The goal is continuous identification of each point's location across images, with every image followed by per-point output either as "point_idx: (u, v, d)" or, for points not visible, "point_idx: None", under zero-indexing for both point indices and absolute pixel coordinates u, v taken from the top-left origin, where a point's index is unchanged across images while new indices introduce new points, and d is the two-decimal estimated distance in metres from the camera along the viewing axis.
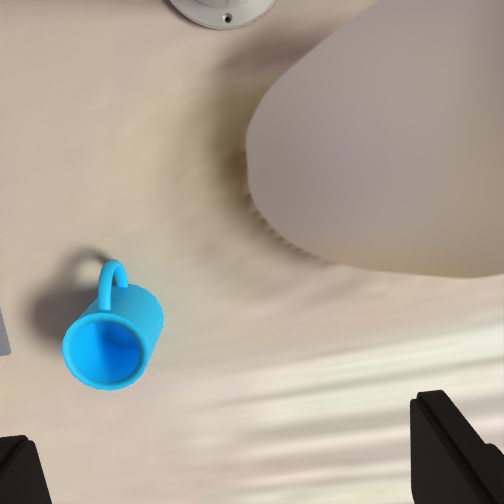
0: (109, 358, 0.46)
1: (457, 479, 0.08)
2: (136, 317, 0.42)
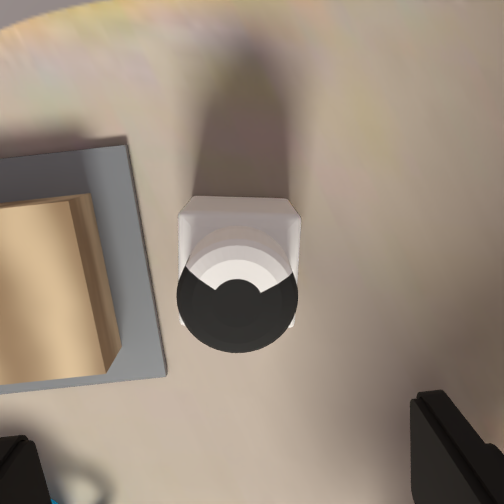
0: None
1: (457, 479, 0.08)
2: None
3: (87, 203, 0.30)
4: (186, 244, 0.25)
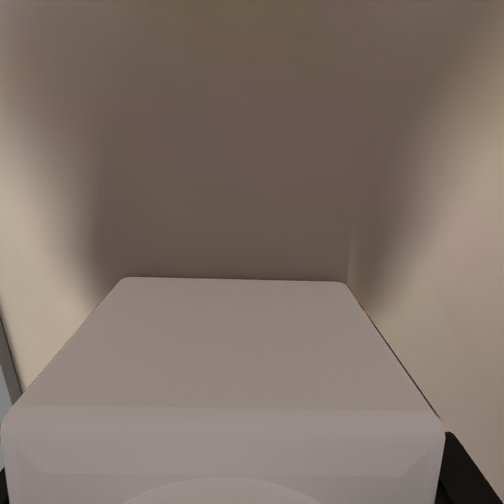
0: None
1: None
2: None
3: None
4: None
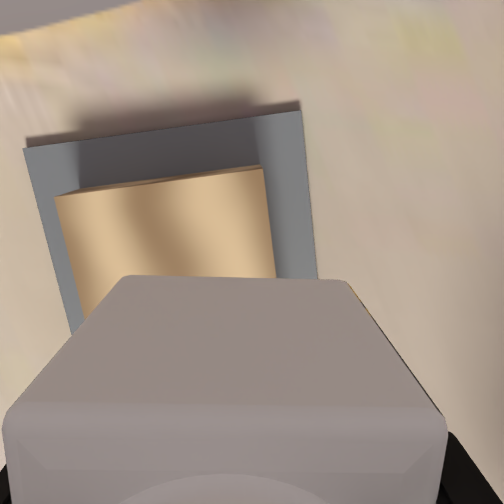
0: None
1: None
2: None
3: None
4: None
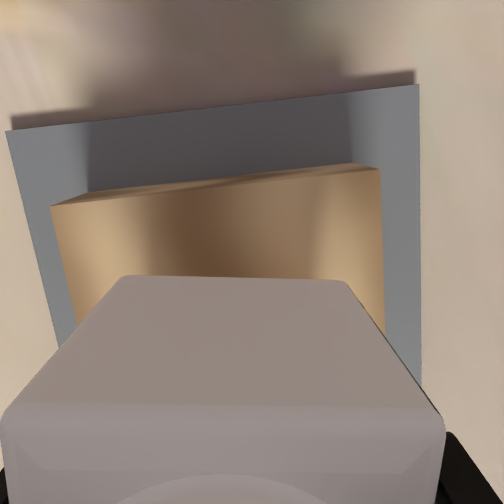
0: None
1: None
2: None
3: None
4: None
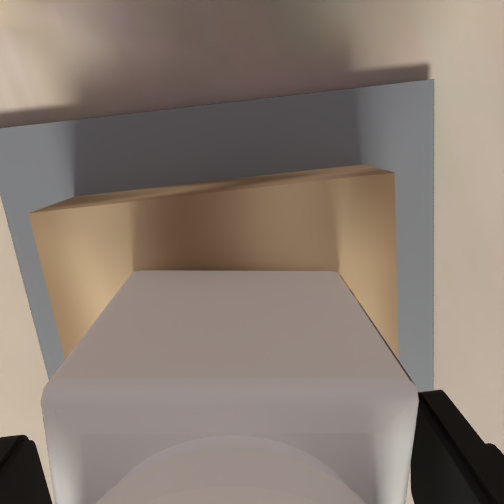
0: None
1: (457, 479, 0.08)
2: None
3: None
4: (72, 480, 0.08)
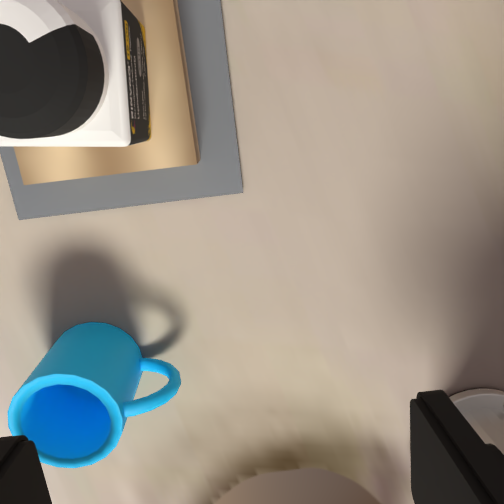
0: None
1: (457, 479, 0.08)
2: None
3: None
4: None
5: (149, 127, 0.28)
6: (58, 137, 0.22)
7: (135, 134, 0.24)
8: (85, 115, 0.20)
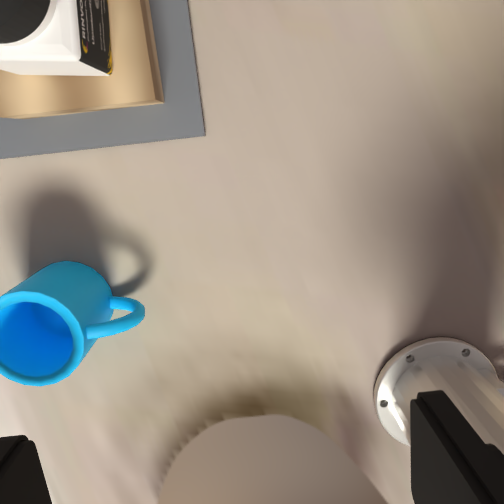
0: (18, 307, 0.37)
1: (457, 479, 0.08)
2: None
3: None
4: None
5: (109, 61, 0.31)
6: (15, 50, 0.25)
7: (88, 54, 0.27)
8: (32, 20, 0.22)
